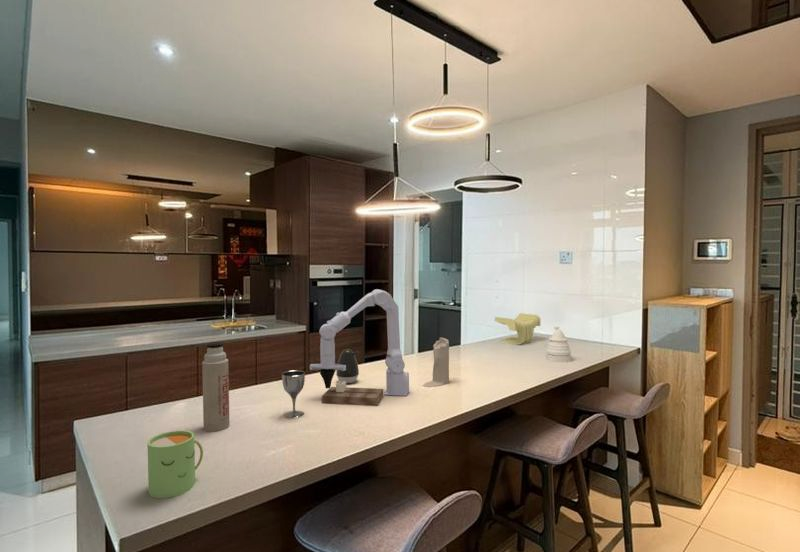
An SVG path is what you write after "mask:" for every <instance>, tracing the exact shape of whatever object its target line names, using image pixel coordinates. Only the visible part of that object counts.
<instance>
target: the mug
mask: <svg viewBox="0 0 800 552" xmlns="http://www.w3.org/2000/svg"><path fill="white" fill-rule="evenodd" d="M195 444H196V445H197V447H198V448H199V452H200V455H199V459H198V462H197V463H196V461H195V459H196V458H195V455H196V454H195V453H196V451H195ZM203 456H204V449H203V447H202V445H201V443H200V442H199V441H198V440H196V439H195V433H194V432H192V431H190V430H171V431H166V432H163V433H159V434H157V435H155V436H153V437H151V438H150V439H149V440H148V441H147V473H148V474H147V475H148V477H147V478H148V479H147V480H148V494H149V496H151V497H152V498H157V499H165V498H171V497H176V496H179V495H181V494H184V493H186V492H188V491H190V490H191V489H192V488H193V487H194V486H195V484H196V470H197V469H198V467H200V466H201V463H202V461H203ZM195 463H196V464H195Z"/></svg>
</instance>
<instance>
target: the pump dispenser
mask: <svg viewBox="0 0 800 552" xmlns="http://www.w3.org/2000/svg"><path fill="white" fill-rule="evenodd" d="M359 353H360V351H354V352H353V350H351V349H349V348H347V349H343V350H342V351H341V353H340V354H339V355H340V356H339V358H338V360H337V364H340V365H346V370H345V371H342V370H336V371H335V374H336V377H337V379H338V382H339V381H345V382H346V385H347V384H348V383H350V384H352V383H354V382H357V381H356V380H357V379H358V377H359V375H360V372H359V371H360V370H359V364H358V360H357V358H356V355H358V354H359Z"/></svg>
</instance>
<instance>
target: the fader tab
mask: <svg viewBox="0 0 800 552" xmlns="http://www.w3.org/2000/svg"><path fill="white" fill-rule="evenodd" d="M335 387H336V392H344V391H345V390H346V387H347V384H346V382H345V381H339V380H338V382H337V383H336V384H335Z"/></svg>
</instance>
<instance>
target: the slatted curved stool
mask: <svg viewBox="0 0 800 552" xmlns="http://www.w3.org/2000/svg"><path fill="white" fill-rule="evenodd" d="M494 322H497V323H499V324H502V325H506V326H508V329H509V331H511V332H516V334H517V336H515V337H514V336H511V337H506V338H503V339H502V343H506V344H507V343H508V344H512V345H522V344H527V343H531V342H532V341H533V338H534V337H533V335H534V330H535V328H536V327H537V326H538V327H541V318H540V316H539V315H537V314H532V313H523V312H521V313H519V314H518V315H517V316H516V317H515V318H514V319H513V318H507V317H506V318H505V317H497V316H494Z"/></svg>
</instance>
